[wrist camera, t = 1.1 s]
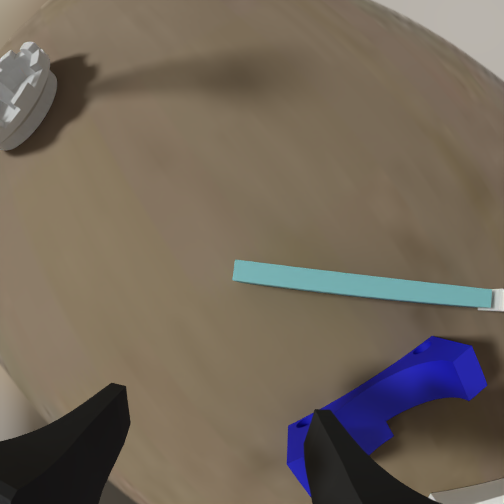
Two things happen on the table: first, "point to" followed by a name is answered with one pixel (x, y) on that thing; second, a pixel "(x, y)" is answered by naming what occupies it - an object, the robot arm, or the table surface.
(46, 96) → the flag stand
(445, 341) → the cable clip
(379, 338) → the table surface
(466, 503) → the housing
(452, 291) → the gate
